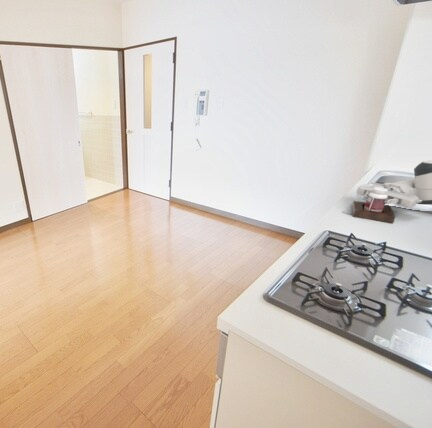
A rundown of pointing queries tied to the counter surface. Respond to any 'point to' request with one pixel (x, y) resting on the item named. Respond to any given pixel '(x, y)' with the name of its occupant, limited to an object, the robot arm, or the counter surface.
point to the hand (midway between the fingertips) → (375, 199)
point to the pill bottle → (376, 200)
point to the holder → (372, 213)
